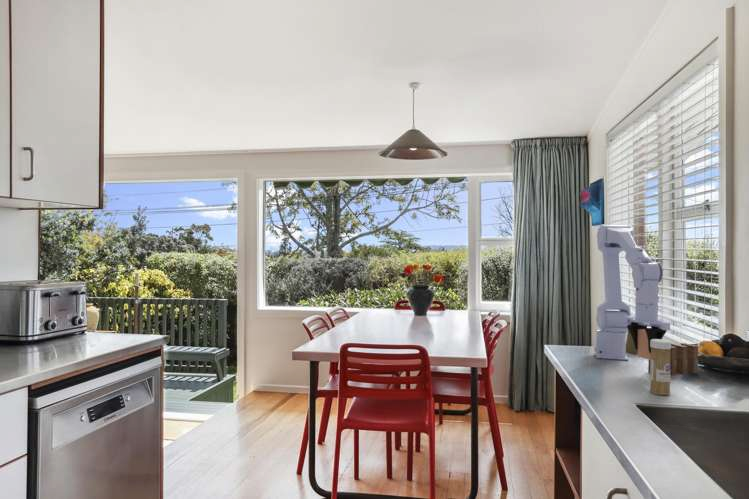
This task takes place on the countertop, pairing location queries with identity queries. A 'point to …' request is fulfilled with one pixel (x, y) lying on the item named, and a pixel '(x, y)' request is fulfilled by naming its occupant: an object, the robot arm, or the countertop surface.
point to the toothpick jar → (660, 366)
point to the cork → (630, 344)
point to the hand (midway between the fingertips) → (645, 351)
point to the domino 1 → (643, 345)
